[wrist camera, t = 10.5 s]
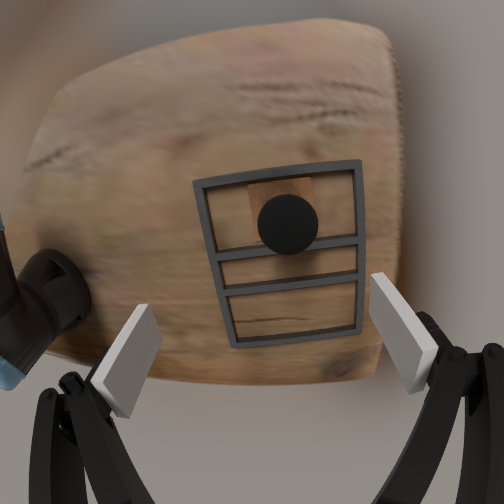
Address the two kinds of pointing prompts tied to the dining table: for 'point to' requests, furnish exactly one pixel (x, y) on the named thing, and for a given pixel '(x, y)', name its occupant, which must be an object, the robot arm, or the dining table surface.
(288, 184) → the gray divided frame
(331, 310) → the dining table surface
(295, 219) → the light bulb
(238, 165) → the dining table surface
